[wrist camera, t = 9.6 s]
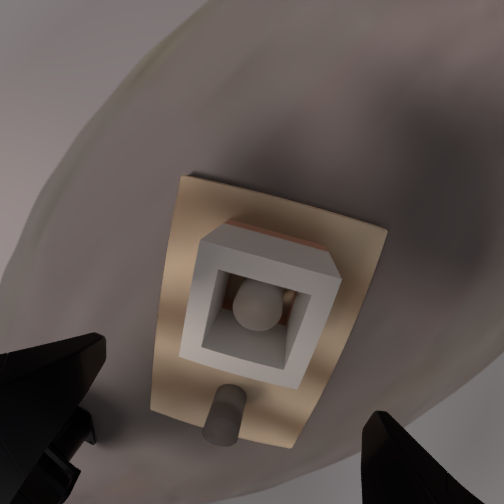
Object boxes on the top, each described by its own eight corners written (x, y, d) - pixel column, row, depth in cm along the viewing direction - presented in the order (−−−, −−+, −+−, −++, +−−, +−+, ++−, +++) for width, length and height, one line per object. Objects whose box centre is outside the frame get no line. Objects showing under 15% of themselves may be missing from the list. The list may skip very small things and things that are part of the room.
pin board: (291, 439, 23) (289, 486, 18) (154, 401, 24) (130, 442, 19) (382, 227, 18) (415, 247, 13) (187, 175, 19) (150, 176, 13)
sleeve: (296, 331, 19) (297, 389, 14) (208, 307, 20) (178, 356, 14) (325, 245, 18) (342, 279, 12) (228, 219, 18) (199, 239, 12)
